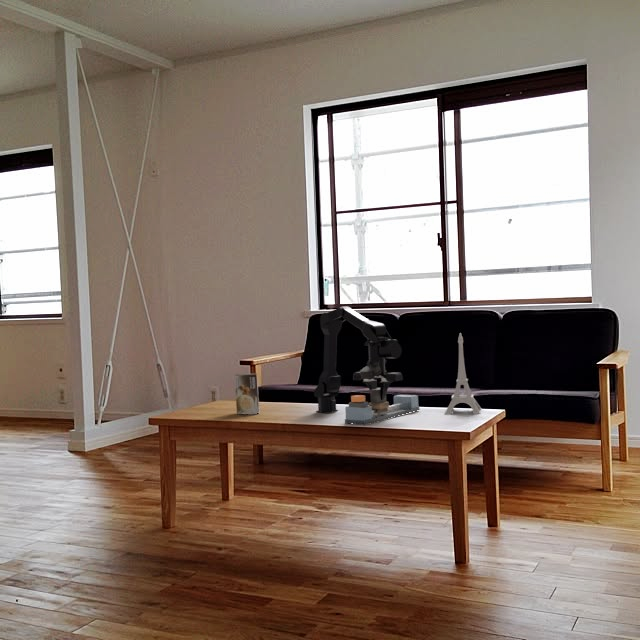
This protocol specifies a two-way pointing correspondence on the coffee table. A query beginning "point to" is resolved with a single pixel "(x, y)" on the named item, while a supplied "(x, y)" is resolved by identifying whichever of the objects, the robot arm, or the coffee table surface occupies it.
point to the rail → (366, 415)
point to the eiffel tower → (462, 381)
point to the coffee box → (247, 393)
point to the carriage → (378, 401)
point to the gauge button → (358, 398)
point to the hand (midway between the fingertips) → (378, 399)
